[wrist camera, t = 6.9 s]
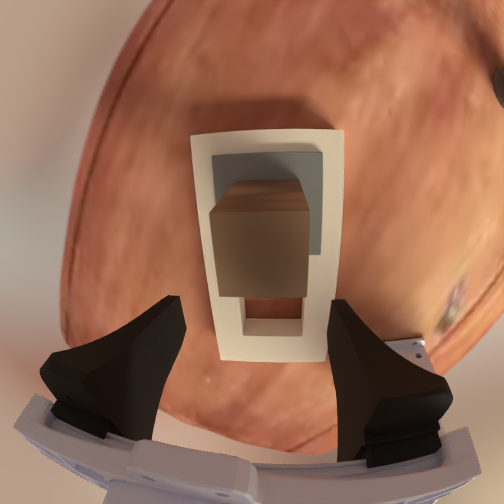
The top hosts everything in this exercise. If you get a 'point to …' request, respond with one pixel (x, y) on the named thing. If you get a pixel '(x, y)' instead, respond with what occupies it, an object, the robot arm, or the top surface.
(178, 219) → the top surface
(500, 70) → the beverage cup
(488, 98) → the top surface
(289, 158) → the slate mat
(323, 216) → the pocket board
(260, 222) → the walnut block
